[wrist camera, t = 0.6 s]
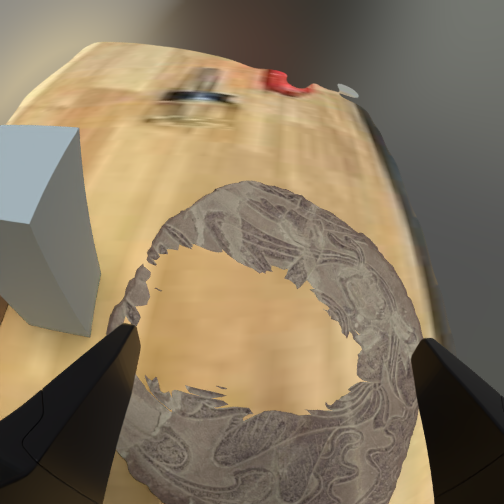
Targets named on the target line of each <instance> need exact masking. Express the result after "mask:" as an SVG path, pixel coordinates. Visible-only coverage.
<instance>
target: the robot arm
mask: <svg viewBox="0 0 504 504" xmlns="http://www.w3.org/2000/svg"><path fill="white" fill-rule="evenodd" d="M140 348H141V345H140V340H139V336H138V331H137V327H136V326H135V325H133V324H127V323H122V324H121V325H119V326H118V327H117V328H116V329H114V330H113V331H112V332H111V333H109V334H108V335H107V336H106V337H104V338H103V339H102V340H101V341H99V342H98V343H97V344H96V345H95V346H93V347H92V348H91V349H90V350H88V351H87V352H86V353H85V354H83V355H82V356H81V357H80V358H79V359H77V360H76V361H75V362H74V363H73V364H71V365H70V366H69V367H68V368H67V369H65V370H64V371H63V372H62V373H61V374H59V375H58V376H57V377H56V378H55V379H53V380H52V381H51V382H50V383H49V384H47V385H46V386H45V387H44V388H43V389H42V390H40V391H39V392H38V393H37V394H35V395H34V396H33V397H32V398H31V399H29V400H28V401H27V402H26V403H24V404H23V405H22V406H21V407H19V408H18V409H16V410H15V411H14V412H12V413H11V414H10V415H8V416H7V417H5V418H4V419H2V420H1V421H0V504H103V500H104V495H105V491H106V487H107V482H108V478H109V474H110V470H111V466H112V462H113V458H114V454H115V451H116V447H117V443H118V439H119V436H120V432H121V429H122V425H123V422H124V418H125V415H126V412H127V408H128V405H129V402H130V398H131V395H132V390H133V385H134V380H135V374H136V369H137V364H138V359H139V354H140ZM411 365H412V371H413V377H414V384H415V391H416V397H417V402H418V407H419V411H420V416H421V420H422V425H423V430H424V435H425V440H426V445H427V451H428V457H429V463H430V470H431V477H432V484H433V492H434V503H435V504H504V397H503V396H500V394H499V393H498V392H497V391H496V390H495V389H493V388H492V387H491V386H490V385H489V384H488V383H487V382H485V381H484V380H483V379H482V378H481V377H479V376H478V375H477V374H476V373H475V372H473V371H472V370H471V369H470V368H469V367H467V366H466V365H465V364H464V363H463V362H461V361H460V360H459V359H458V358H457V357H455V356H454V355H453V354H452V353H451V352H449V351H448V350H447V349H446V348H444V347H443V346H442V345H441V344H439V343H438V342H437V341H436V340H434V339H433V338H424V339H422V340H421V341H420V342H419V344H418V345H417V347H416V349H415V350H414V352H413V354H412V356H411Z"/></svg>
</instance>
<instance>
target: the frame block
mask: <svg viewBox="0 0 504 504" xmlns="http://www.w3.org/2000/svg"><path fill="white" fill-rule="evenodd" d="M100 276H101V271H100V267H99V263H98V258H97V254H96V249H95V245H94V240H93V235H92V230H91V224H90V219H89V213H88V206H87V200H86V193H85V186H84V178H83V169H82V159H81V148H80V134H79V128H75V127H59V126H36V125H0V295H1V296H2V297H3V299H4V300H5V301H6V302H7V303H8V304H9V305H10V306H11V307H12V308H13V309H14V310H15V311H16V312H17V313H18V314H19V315H20V316H21V317H22V318H23V319H24V320H25V321H26V322H27V323H28V324H29V325H33V326H37V327H41V328H46V329H50V330H55V331H60V332H65V333H70V334H75V335H80V336H86V337H90V335H91V328H92V321H93V314H94V308H95V302H96V297H97V291H98V286H99V281H100Z"/></svg>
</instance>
